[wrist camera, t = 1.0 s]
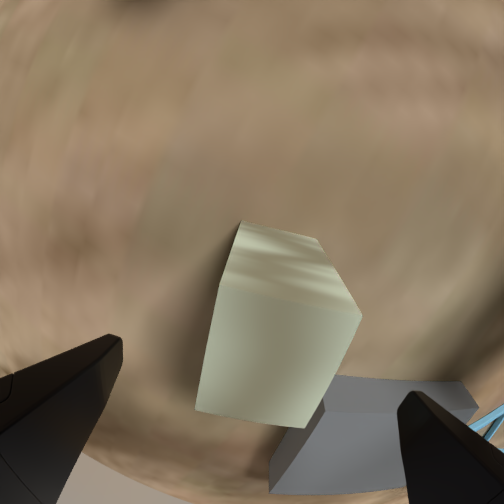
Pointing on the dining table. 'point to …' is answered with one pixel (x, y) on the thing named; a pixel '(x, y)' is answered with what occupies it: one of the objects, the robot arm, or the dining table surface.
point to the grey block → (355, 437)
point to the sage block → (275, 329)
